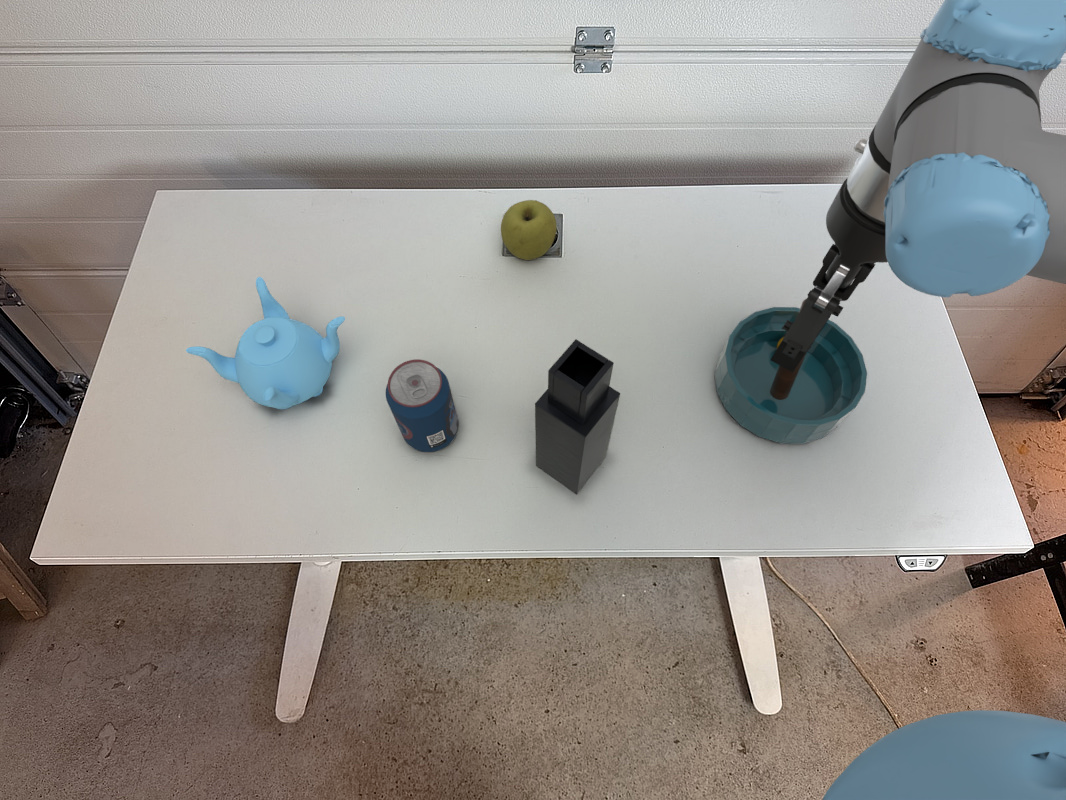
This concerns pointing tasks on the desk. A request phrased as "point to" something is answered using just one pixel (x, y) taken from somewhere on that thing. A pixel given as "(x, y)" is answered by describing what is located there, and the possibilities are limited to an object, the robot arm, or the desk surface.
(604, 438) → the holder
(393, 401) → the soda can
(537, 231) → the apple
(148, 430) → the desk surface
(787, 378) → the stick
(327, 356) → the teapot
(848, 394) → the bowl
